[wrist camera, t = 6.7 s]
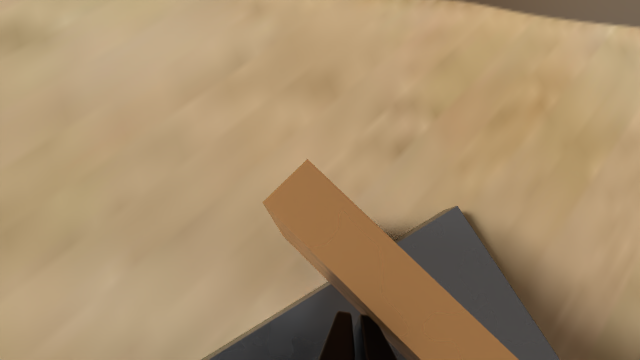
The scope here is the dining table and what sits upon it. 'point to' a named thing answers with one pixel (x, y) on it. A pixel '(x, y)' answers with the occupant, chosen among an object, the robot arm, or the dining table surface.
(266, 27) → the dining table surface
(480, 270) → the tribrach plate
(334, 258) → the thick wooden plank
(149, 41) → the dining table surface
